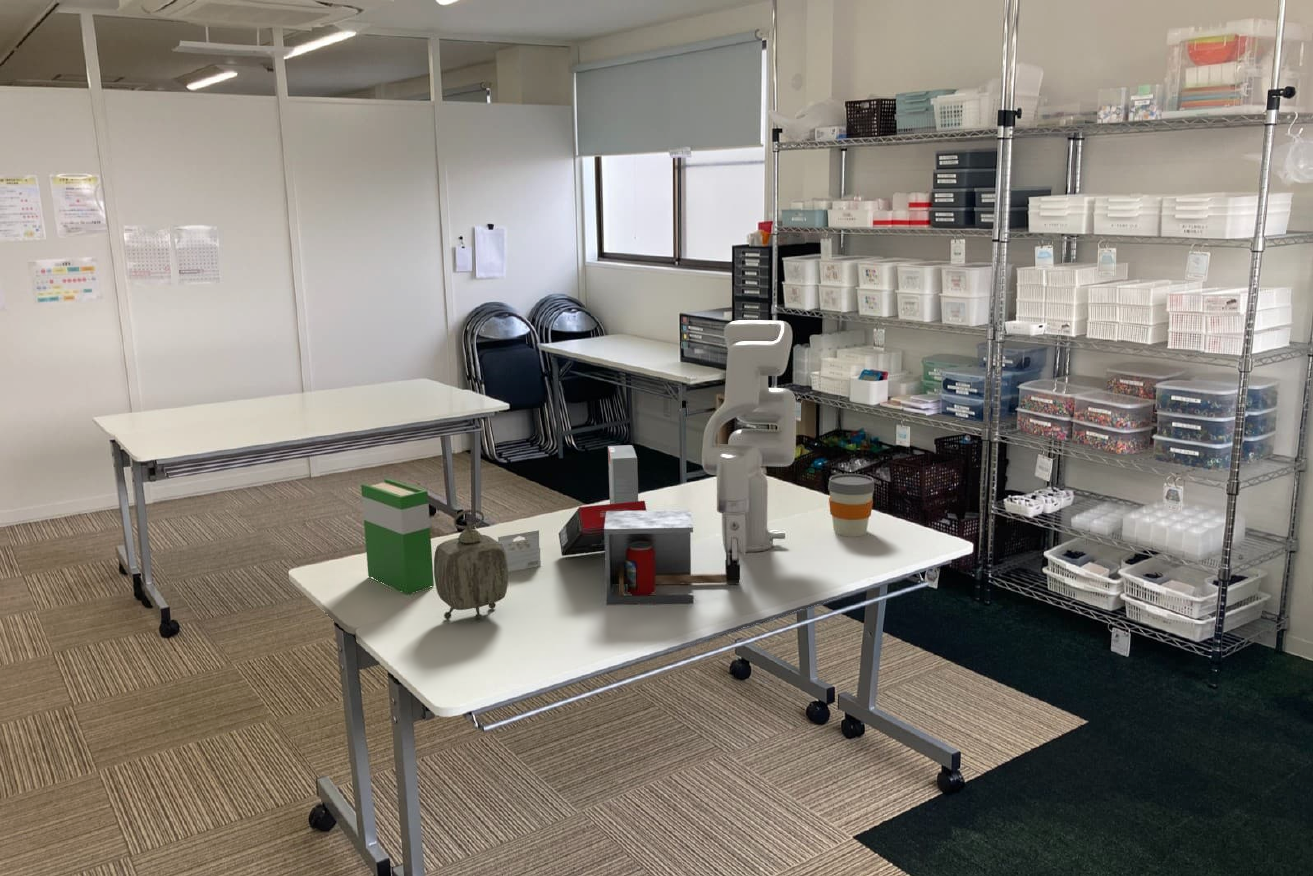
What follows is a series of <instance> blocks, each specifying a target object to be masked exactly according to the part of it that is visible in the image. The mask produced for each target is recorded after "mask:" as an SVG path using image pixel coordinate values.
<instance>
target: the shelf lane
mask: <svg viewBox="0 0 1313 876" xmlns="http://www.w3.org/2000/svg"><path fill="white" fill-rule="evenodd" d="M646 510H647V509H646ZM693 533H694V524H693V519H692V512H691V509H664V510H663V509H658V510H657V509H654V510H652V509H651V510H647V511H606V517H605V526H604V535H605V551H604V561H605V562H604V565H605V567H604V568H605V605H606V606H625V605H627V606H629V605H630V606H631V605H632V606H634V605H636V606H637V605H638V604H640V605H677V604H678V605H679V604H680V605H681V604H682V605H683V604H686V605H687V604H694V602H695V601H694V598H695V597H694V593H664V594H663V593H662V594H661V593H660V594H658V593H656V594H654V593H652V594H649V595H631V594H624V595H619V594H614V595H613V594H612V590H613V586H617V585H618V586H619V571H620V564H624V576H626V551H627V549H628V547H629V544H630V543H632V542H638V541H644V542H649V543H651V544H652V547H653V549H654V551H655V575H676V574H692V570H691V569H692V565H691V563H692V561H691V560H692V555H691V554H692V553H691V551H692V550H691V547H692V545H691V544H692V543H691V534H693Z"/></svg>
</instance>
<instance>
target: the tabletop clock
mask: <svg viewBox="0 0 1313 876" xmlns="http://www.w3.org/2000/svg"><path fill="white" fill-rule="evenodd" d="M470 513H477V514H479V515H480V516H481V520H480V521H478V522H477V523H474V524H472V522H471V521H468V522H466V525H458V524H457V519H458V518H459V517H461V516H462V515H467V514H470ZM484 520H485V516H484V513H483V512H482V511H481V510H479V509H475V508H471V509H465V510H462V511H460V512H459V513H458V514H456V516H455V517H454V520H453V525H454V527H456V528H457V529H461V530H463V531H461V532H460V534H459V536H458V537H455V538H452V539H449V540H445V541H443V542H441V543H439V544H438V545H437V546H436V549H435V551H434V557H433V558H434V559H433V564H434V565H433V578H434V585H435V589H436V592H437V595H438V596H439V598H440V600H441V601H443V602H444V603H445V604H446V605H448V606H449V607H450V609H449V610H448V611H446V612H445V613H444V614H443V617H444V619H446V620H449V619H451V618H452V613H453V611H454V610H458V611H465V610H472V609H475V612H476V614H475V616H474V619H475V621H477V622H481V621H482V620H483V615H482V614H481V613H480V608H481V607H485V606H488V608H489V609H495V608H496V606H497V604H496V603H498V602H500V601H501V600H503V599H504V598H505V597H506V594H507V590H508V583H509V580H508V579H509V572H508V566H507V558H506V553H505V550H504V548H503V546H502V544H501V543H499V542H498V540H496V539H494V538H492V537H491V536H489V535H486V534H481V532H479V531H478V530H477V529H474V528H476V527H479V526H480V525H481V524H482V523H483V521H484Z"/></svg>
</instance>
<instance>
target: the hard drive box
mask: <svg viewBox="0 0 1313 876" xmlns="http://www.w3.org/2000/svg"><path fill="white" fill-rule="evenodd" d="M607 454H608V455H607V456H608V457H607V458H608V459H607V460H608V485H609V489H608V490H609V504H615V503H625V502H635V501H639V478H638V476H639V475H638V472H639V471H638V457H637V454H636V450H635V448H634V445H631V444H627V445H608V446H607Z"/></svg>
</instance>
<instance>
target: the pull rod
mask: <svg viewBox="0 0 1313 876" xmlns="http://www.w3.org/2000/svg"><path fill="white" fill-rule="evenodd" d="M729 552H732V551H730V550H729ZM730 557H732V556H730ZM725 560H726V564H728V554H726V553H725ZM681 584H683V585H684V584H726V585H727V584H728V585H735V584H736V585H737V584H738V585H739V584H740V580H739V581H727V579H726V574H725V573H691V574H676V575H655V585H681ZM625 586H627V576H624V564H620V571H619V585H618V592H619V593H618V595H625Z"/></svg>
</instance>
